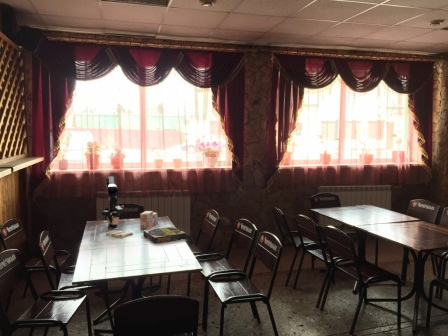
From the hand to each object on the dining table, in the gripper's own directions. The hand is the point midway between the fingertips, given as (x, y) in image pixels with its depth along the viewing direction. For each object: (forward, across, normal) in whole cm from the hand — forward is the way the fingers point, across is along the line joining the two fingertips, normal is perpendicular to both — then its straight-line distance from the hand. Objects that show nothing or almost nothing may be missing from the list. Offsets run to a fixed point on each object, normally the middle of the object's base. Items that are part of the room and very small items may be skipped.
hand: (113, 222), depth 309 cm
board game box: (+10, +9, -42) cm, 44 cm away
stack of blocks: (+9, +33, -7) cm, 35 cm away
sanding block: (+1, 0, 0) cm, 1 cm away
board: (+9, 0, -6) cm, 10 cm away
